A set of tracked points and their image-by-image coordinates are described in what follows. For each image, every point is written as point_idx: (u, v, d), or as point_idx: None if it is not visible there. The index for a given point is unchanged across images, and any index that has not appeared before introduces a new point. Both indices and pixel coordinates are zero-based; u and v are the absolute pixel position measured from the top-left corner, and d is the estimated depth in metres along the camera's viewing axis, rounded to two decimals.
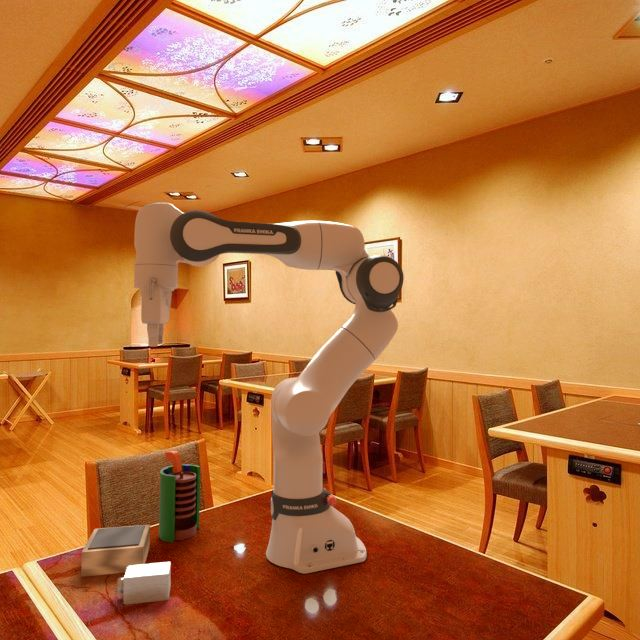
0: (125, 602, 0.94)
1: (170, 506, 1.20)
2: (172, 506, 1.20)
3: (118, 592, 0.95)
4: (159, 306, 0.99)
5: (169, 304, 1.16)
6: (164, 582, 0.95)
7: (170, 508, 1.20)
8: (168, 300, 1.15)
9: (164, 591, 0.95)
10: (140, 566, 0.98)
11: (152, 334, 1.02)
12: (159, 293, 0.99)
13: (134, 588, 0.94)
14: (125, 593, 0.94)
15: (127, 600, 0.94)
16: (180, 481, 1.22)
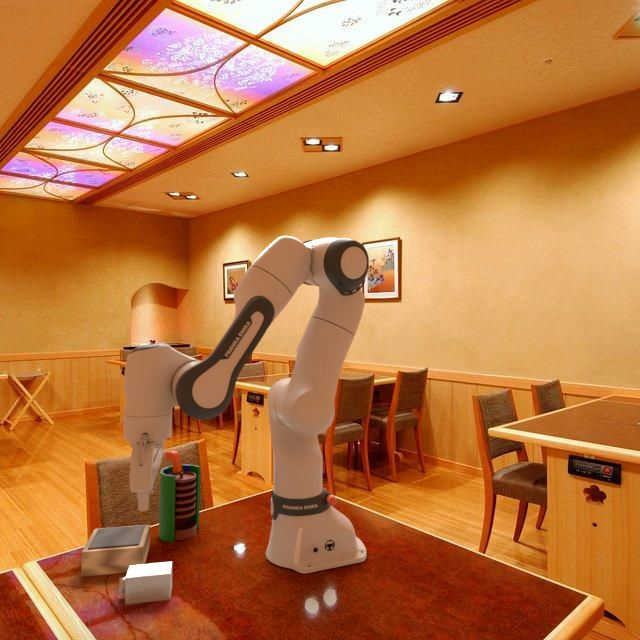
0: (127, 602, 0.94)
1: (170, 506, 1.20)
2: (172, 506, 1.20)
3: (120, 592, 0.95)
4: (150, 473, 0.88)
5: None
6: (166, 582, 0.95)
7: (170, 508, 1.20)
8: None
9: (166, 591, 0.95)
10: (142, 566, 0.98)
11: (142, 498, 0.91)
12: (150, 457, 0.88)
13: (136, 588, 0.94)
14: (127, 593, 0.94)
15: (129, 600, 0.94)
16: (180, 481, 1.22)
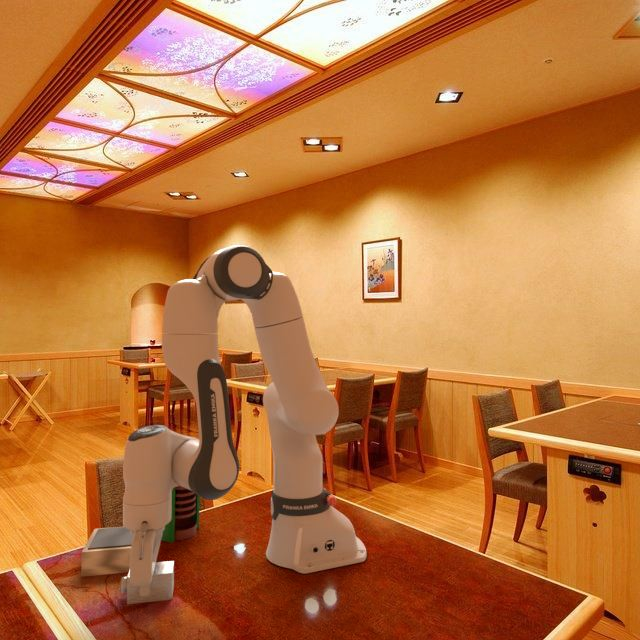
0: (129, 601, 0.94)
1: None
2: (172, 506, 1.20)
3: (122, 591, 0.95)
4: (150, 566, 0.88)
5: None
6: (168, 581, 0.95)
7: None
8: None
9: (167, 590, 0.95)
10: None
11: None
12: (150, 550, 0.88)
13: (138, 588, 0.94)
14: (129, 592, 0.94)
15: (130, 599, 0.94)
16: None
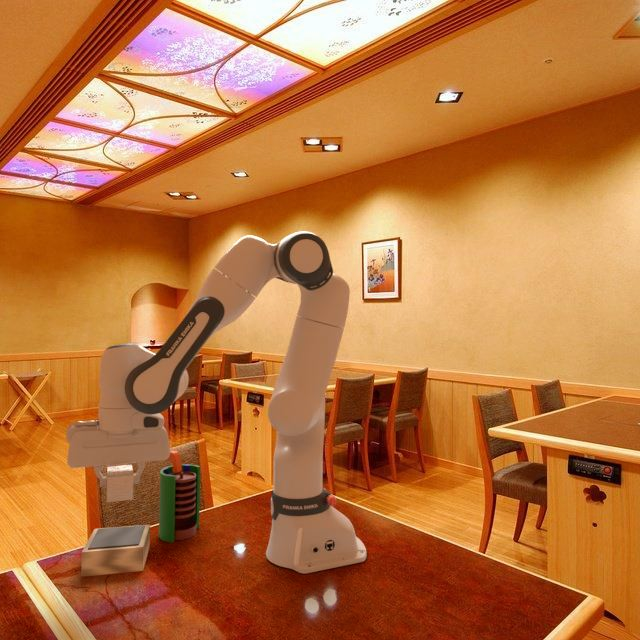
0: None
1: (170, 506, 1.20)
2: (172, 506, 1.20)
3: None
4: (69, 452, 1.03)
5: (162, 441, 1.09)
6: (107, 484, 1.03)
7: (170, 508, 1.20)
8: (158, 437, 1.09)
9: None
10: (128, 468, 1.09)
11: None
12: (71, 439, 1.03)
13: None
14: None
15: None
16: (180, 481, 1.22)
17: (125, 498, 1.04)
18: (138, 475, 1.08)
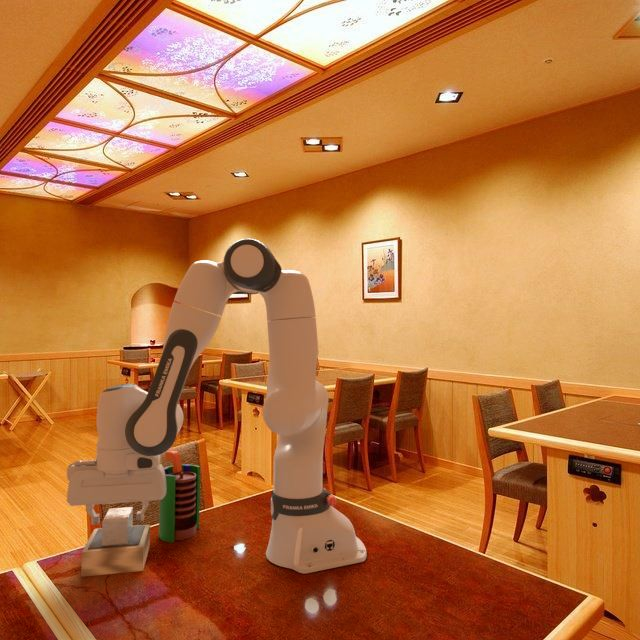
0: None
1: (170, 506, 1.20)
2: (172, 506, 1.20)
3: None
4: (68, 490, 1.07)
5: (157, 481, 1.11)
6: None
7: (170, 508, 1.20)
8: (153, 477, 1.11)
9: None
10: (127, 511, 1.12)
11: None
12: (70, 478, 1.07)
13: None
14: None
15: None
16: (180, 481, 1.22)
17: (119, 543, 1.07)
18: (142, 513, 1.11)
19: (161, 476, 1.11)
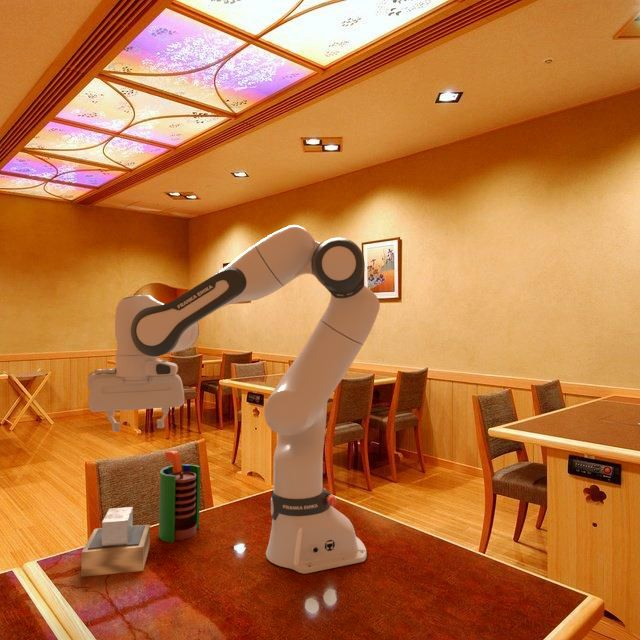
0: None
1: (170, 506, 1.20)
2: (172, 506, 1.20)
3: None
4: (89, 397, 1.10)
5: (175, 388, 1.14)
6: None
7: (170, 508, 1.20)
8: (171, 384, 1.14)
9: None
10: (127, 511, 1.12)
11: None
12: (91, 385, 1.10)
13: None
14: None
15: None
16: (180, 481, 1.22)
17: (119, 543, 1.07)
18: (162, 420, 1.14)
19: (179, 383, 1.14)
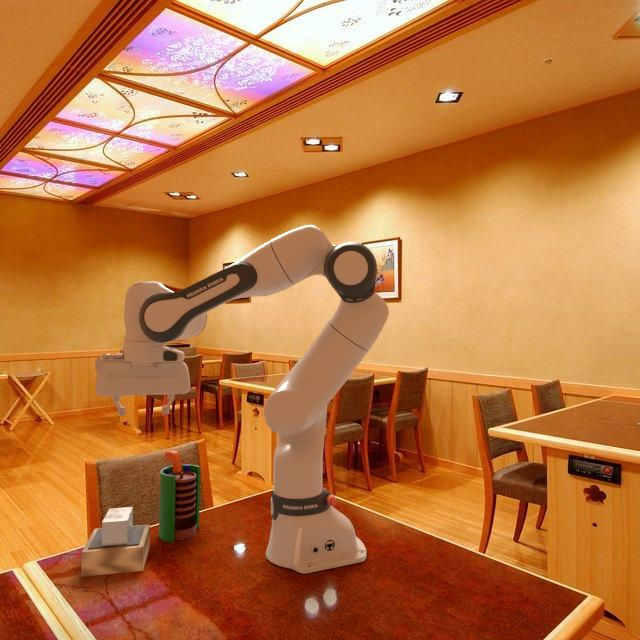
0: None
1: (170, 506, 1.20)
2: (172, 506, 1.20)
3: None
4: (96, 380, 1.11)
5: (182, 375, 1.15)
6: None
7: (170, 508, 1.20)
8: (178, 371, 1.15)
9: None
10: (127, 511, 1.12)
11: None
12: (99, 369, 1.12)
13: None
14: None
15: None
16: (180, 481, 1.22)
17: (119, 543, 1.07)
18: (167, 406, 1.15)
19: (186, 370, 1.15)
